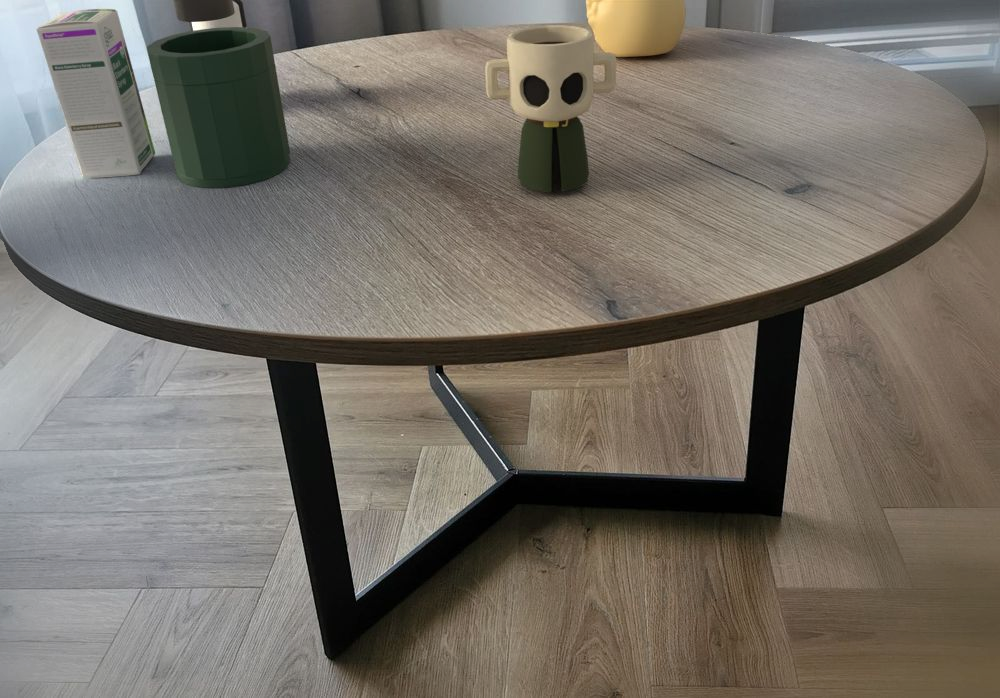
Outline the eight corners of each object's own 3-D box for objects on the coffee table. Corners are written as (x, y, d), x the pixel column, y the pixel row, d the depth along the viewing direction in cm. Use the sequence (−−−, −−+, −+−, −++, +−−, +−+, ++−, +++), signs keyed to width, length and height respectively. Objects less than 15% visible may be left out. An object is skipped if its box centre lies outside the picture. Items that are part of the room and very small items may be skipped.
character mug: (493, 204, 82) (484, 49, 75) (490, 174, 88) (482, 28, 81) (620, 196, 82) (623, 40, 75) (609, 166, 88) (610, 20, 81)
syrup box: (141, 175, 92) (101, 20, 85) (79, 179, 92) (34, 24, 85) (156, 155, 97) (119, 6, 90) (98, 159, 97) (56, 10, 90)
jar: (160, 189, 89) (128, 58, 83) (198, 149, 98) (171, 29, 92) (274, 186, 88) (250, 54, 82) (302, 146, 97) (282, 24, 91)
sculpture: (610, 39, 128) (611, -47, 123) (696, 46, 123) (701, -44, 117) (573, 60, 120) (571, -31, 114) (663, 69, 115) (666, -27, 109)
